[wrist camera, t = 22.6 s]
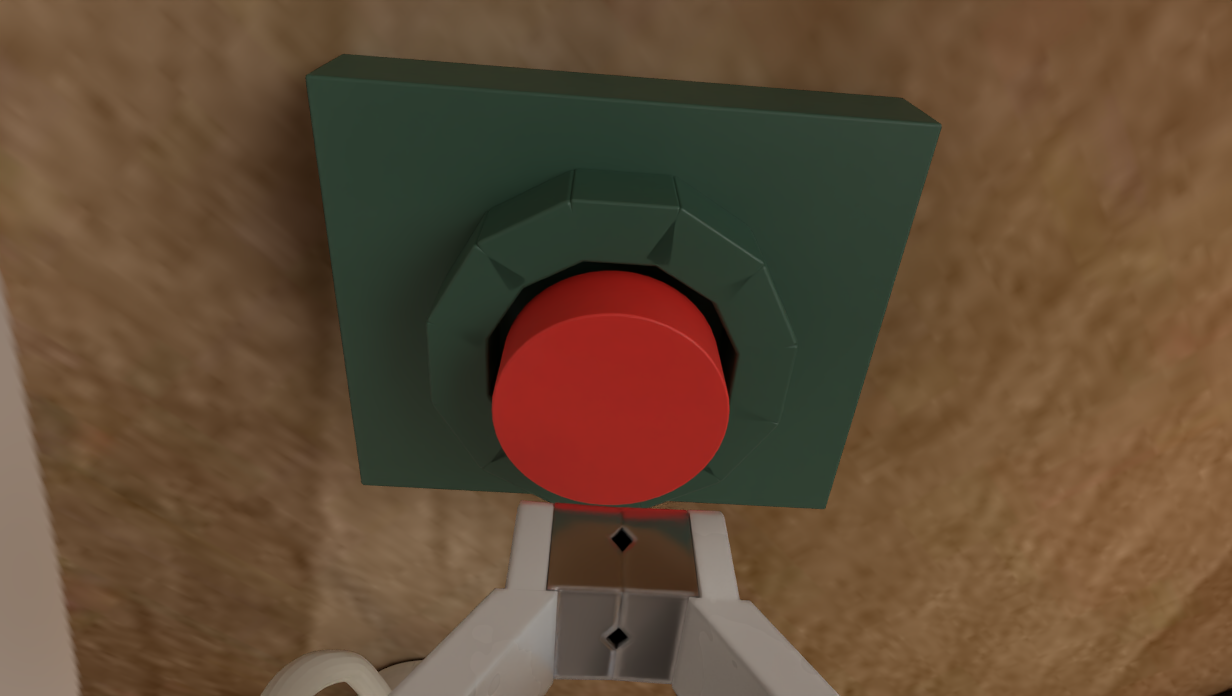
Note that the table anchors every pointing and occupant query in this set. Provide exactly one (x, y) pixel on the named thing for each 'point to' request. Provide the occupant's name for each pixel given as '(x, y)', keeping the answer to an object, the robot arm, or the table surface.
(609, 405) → the button
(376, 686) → the mug
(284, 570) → the table surface
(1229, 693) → the bracket
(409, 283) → the button box
